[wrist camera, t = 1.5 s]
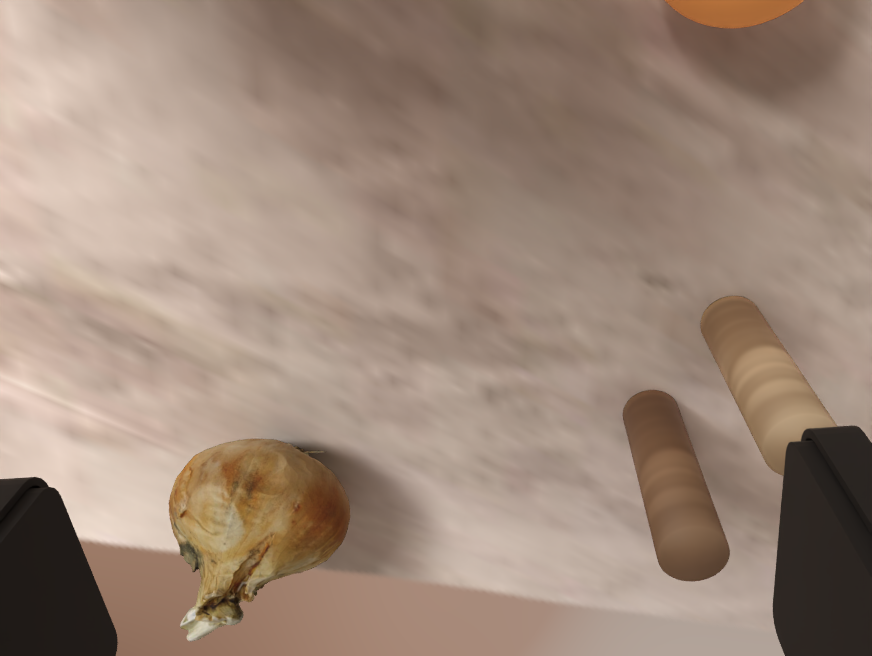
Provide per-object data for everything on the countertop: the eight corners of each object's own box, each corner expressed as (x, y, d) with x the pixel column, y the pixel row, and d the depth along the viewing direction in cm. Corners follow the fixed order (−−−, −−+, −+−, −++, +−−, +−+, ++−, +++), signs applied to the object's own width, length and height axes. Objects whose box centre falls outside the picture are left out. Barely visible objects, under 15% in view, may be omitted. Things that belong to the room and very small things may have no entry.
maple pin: (699, 300, 33) (762, 419, 25) (760, 292, 33) (843, 409, 25) (701, 351, 34) (763, 481, 26) (760, 344, 34) (841, 473, 26)
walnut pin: (620, 393, 35) (655, 530, 27) (676, 387, 35) (728, 523, 27) (625, 439, 36) (659, 584, 28) (679, 433, 36) (730, 578, 28)
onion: (377, 525, 40) (349, 655, 32) (224, 541, 41) (165, 670, 34) (340, 393, 36) (299, 506, 29) (175, 415, 38) (98, 528, 30)
